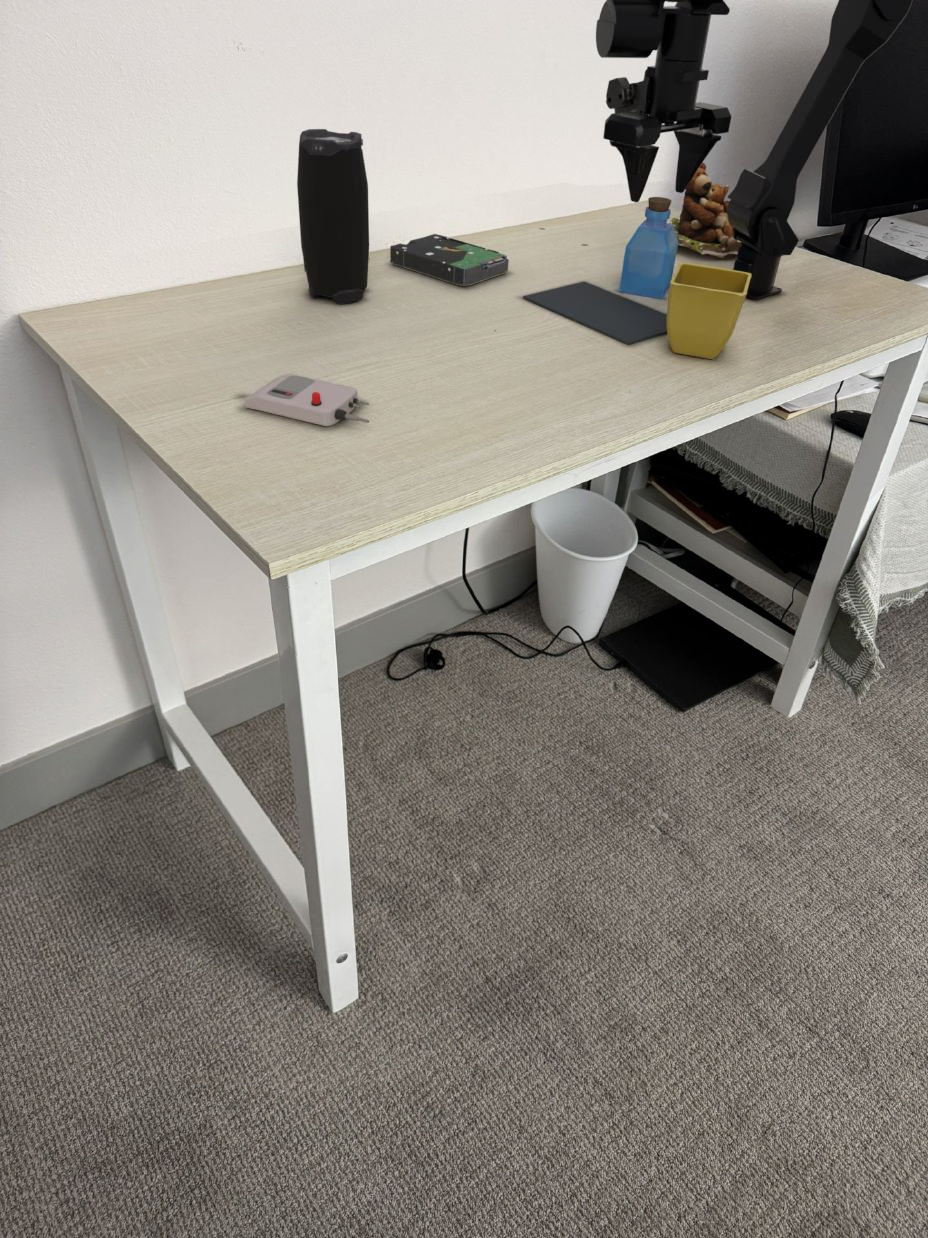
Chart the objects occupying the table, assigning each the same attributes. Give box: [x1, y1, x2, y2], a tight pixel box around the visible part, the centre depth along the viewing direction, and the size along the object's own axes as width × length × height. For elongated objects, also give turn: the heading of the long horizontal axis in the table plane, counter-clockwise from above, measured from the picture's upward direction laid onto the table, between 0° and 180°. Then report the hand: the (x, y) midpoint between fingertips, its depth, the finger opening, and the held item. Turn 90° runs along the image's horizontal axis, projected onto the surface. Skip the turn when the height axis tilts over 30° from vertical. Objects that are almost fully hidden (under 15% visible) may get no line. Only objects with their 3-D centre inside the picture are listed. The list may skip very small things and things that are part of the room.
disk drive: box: [389, 233, 510, 287], centre depth 130 cm, size 10×3×15 cm
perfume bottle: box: [618, 196, 679, 300], centre depth 123 cm, size 6×6×12 cm
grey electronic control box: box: [244, 373, 370, 427], centre depth 92 cm, size 7×16×3 cm, turn 67°
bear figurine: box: [667, 161, 742, 260], centre depth 141 cm, size 14×15×12 cm
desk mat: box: [522, 281, 667, 346], centre depth 119 cm, size 12×20×1 cm, turn 39°
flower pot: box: [666, 262, 751, 360], centre depth 107 cm, size 9×9×9 cm
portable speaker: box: [296, 128, 370, 305], centre depth 114 cm, size 9×9×20 cm
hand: (657, 196), depth 117 cm, fingers open, 9 cm apart
